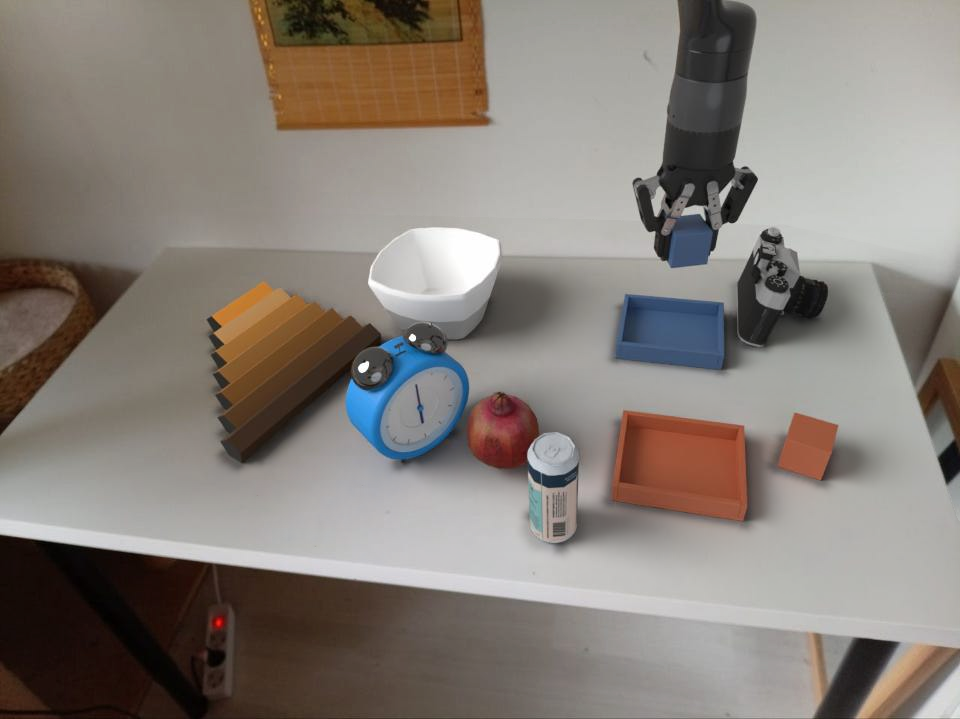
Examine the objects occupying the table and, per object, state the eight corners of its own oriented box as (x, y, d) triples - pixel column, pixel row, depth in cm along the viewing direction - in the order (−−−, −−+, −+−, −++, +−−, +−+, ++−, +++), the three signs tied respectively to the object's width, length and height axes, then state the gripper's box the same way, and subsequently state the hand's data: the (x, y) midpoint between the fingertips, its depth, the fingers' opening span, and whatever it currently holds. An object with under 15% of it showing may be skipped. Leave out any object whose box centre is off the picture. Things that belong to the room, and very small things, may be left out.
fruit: (544, 434, 80) (543, 371, 73) (535, 489, 74) (533, 425, 67) (476, 429, 81) (469, 366, 75) (463, 482, 75) (454, 418, 69)
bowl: (413, 272, 108) (404, 220, 102) (519, 288, 103) (517, 234, 96) (360, 341, 96) (347, 285, 89) (479, 363, 90) (473, 306, 84)
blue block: (694, 245, 84) (700, 213, 81) (707, 264, 81) (713, 232, 78) (659, 249, 84) (663, 217, 81) (670, 268, 80) (675, 236, 78)
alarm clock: (384, 482, 76) (358, 383, 66) (355, 451, 80) (328, 354, 70) (475, 424, 82) (464, 326, 72) (445, 398, 86) (431, 301, 76)
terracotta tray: (740, 440, 77) (744, 425, 75) (743, 521, 69) (747, 506, 67) (621, 424, 80) (623, 409, 78) (611, 500, 72) (612, 485, 70)
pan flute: (245, 465, 79) (383, 346, 94) (236, 445, 77) (379, 326, 92) (121, 391, 91) (262, 295, 106) (110, 372, 89) (256, 277, 104)
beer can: (585, 519, 70) (589, 440, 63) (562, 553, 67) (563, 475, 60) (544, 500, 73) (543, 421, 65) (521, 532, 70) (517, 454, 62)
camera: (813, 361, 88) (851, 300, 81) (729, 339, 89) (759, 278, 82) (804, 295, 98) (836, 237, 91) (729, 277, 100) (755, 218, 93)
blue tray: (720, 316, 94) (723, 302, 92) (721, 370, 86) (724, 355, 84) (623, 307, 97) (625, 293, 95) (615, 358, 89) (616, 343, 87)
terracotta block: (827, 452, 75) (838, 424, 72) (820, 480, 72) (831, 453, 69) (785, 439, 77) (794, 412, 74) (777, 466, 74) (786, 439, 71)
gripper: (647, 136, 68) (633, 279, 79) (787, 121, 68) (754, 265, 79) (627, 108, 73) (617, 245, 85) (757, 95, 74) (729, 233, 85)
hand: (683, 254), depth 82 cm, fingers closed on blue block, 4 cm apart
